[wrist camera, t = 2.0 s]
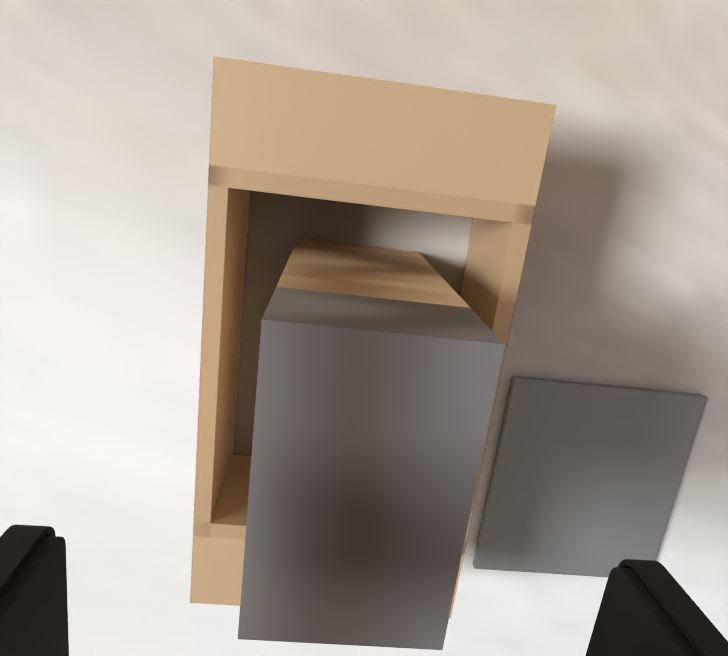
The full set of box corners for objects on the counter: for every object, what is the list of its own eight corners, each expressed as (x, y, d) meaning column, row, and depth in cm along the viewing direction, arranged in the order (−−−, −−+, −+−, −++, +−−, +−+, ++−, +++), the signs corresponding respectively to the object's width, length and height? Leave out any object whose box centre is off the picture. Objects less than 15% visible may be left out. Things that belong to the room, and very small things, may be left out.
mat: (702, 395, 26) (706, 397, 25) (645, 575, 28) (648, 579, 28) (512, 376, 25) (515, 379, 25) (472, 564, 28) (474, 568, 27)
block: (419, 252, 23) (505, 344, 12) (392, 427, 25) (442, 649, 14) (297, 238, 23) (261, 319, 11) (281, 417, 25) (237, 639, 13)
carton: (506, 117, 22) (556, 105, 17) (429, 536, 27) (450, 617, 22) (241, 80, 21) (213, 56, 16) (216, 521, 26) (190, 602, 21)
